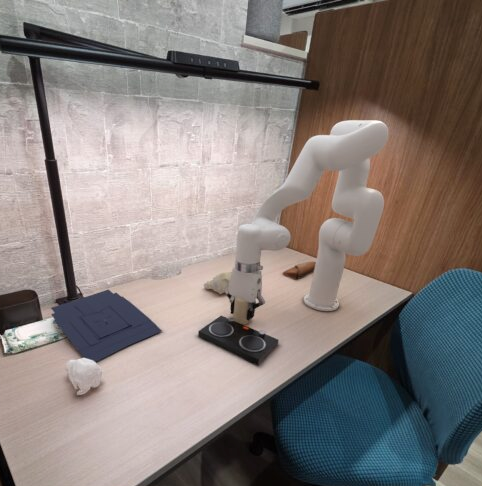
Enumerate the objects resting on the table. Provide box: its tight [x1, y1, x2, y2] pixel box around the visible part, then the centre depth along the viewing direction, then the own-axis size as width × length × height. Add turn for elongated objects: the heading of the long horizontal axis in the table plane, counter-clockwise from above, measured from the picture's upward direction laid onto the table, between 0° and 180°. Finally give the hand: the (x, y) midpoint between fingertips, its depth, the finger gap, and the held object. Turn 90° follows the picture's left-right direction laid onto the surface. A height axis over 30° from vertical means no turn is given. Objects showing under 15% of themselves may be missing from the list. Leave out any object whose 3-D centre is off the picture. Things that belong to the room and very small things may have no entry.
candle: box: [232, 297, 250, 325], centre depth 104 cm, size 6×6×10 cm
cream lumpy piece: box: [203, 271, 232, 295], centre depth 124 cm, size 15×7×15 cm
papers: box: [50, 288, 163, 363], centre depth 100 cm, size 24×30×4 cm
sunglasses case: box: [282, 261, 316, 281], centre depth 143 cm, size 18×7×7 cm, turn 133°
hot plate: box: [197, 315, 279, 366], centre depth 95 cm, size 12×21×3 cm, turn 52°
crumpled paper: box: [65, 357, 103, 396], centre depth 76 cm, size 6×8×12 cm
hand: (241, 315), depth 105 cm, fingers closed on candle, 5 cm apart
